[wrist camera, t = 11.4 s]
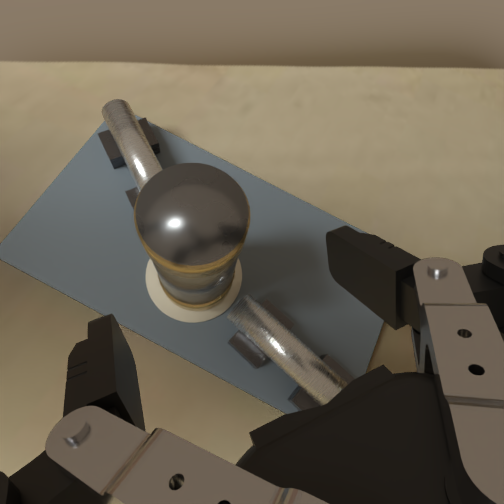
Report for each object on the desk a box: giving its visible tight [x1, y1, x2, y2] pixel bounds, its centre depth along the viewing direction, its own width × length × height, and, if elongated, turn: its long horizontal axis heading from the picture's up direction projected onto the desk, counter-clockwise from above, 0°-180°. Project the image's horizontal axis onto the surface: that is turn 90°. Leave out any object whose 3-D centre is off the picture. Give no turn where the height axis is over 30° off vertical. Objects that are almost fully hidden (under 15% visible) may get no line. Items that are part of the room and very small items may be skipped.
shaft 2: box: [227, 293, 355, 411], centre depth 22 cm, size 9×4×4 cm, turn 48°
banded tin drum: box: [134, 163, 250, 311], centre depth 20 cm, size 5×5×10 cm
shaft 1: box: [97, 99, 163, 210], centre depth 25 cm, size 9×4×4 cm, turn 28°
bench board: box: [0, 115, 384, 414], centre depth 25 cm, size 25×14×1 cm, turn 63°
